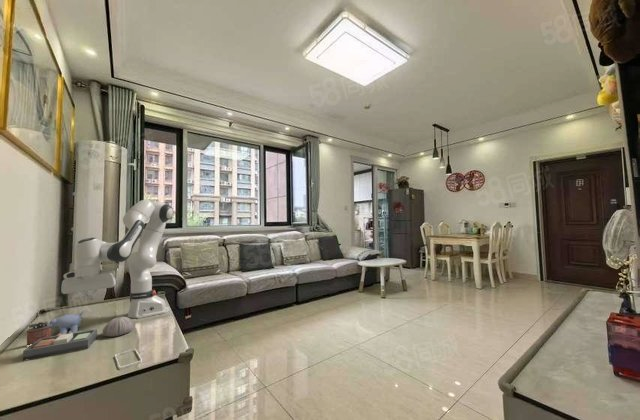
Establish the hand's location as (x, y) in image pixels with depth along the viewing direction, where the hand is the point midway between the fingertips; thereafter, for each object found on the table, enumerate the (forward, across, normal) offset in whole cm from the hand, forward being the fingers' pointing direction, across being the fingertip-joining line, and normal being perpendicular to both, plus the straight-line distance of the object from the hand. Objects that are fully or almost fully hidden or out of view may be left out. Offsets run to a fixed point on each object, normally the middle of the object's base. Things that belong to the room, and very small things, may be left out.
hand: (90, 299), depth 129 cm
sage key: (+18, +3, +5) cm, 18 cm away
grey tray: (+19, +9, +5) cm, 22 cm away
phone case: (+20, -20, +33) cm, 44 cm away
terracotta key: (+17, +16, +5) cm, 24 cm away
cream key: (+16, +9, +5) cm, 19 cm away
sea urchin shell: (+20, -10, -4) cm, 23 cm away
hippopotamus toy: (+20, +17, -22) cm, 34 cm away
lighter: (+19, +22, -8) cm, 31 cm away
